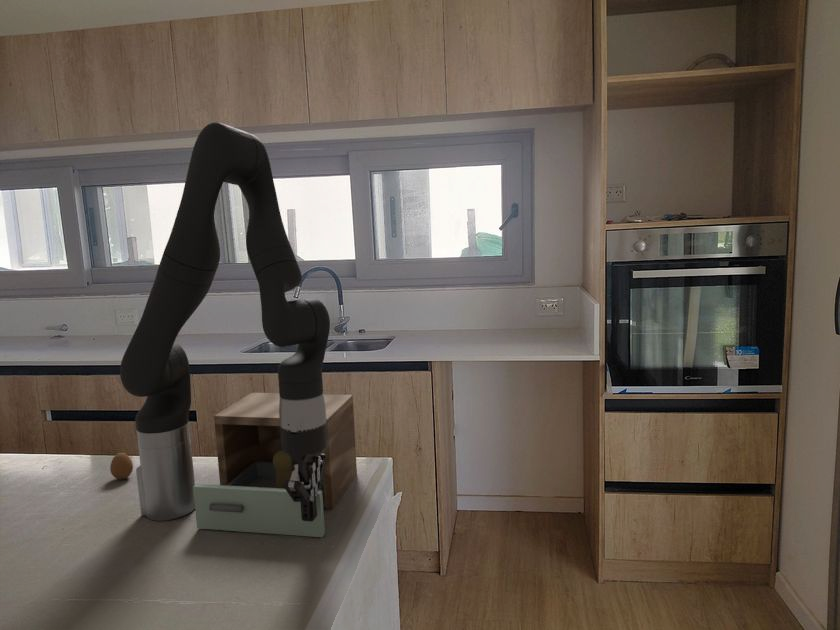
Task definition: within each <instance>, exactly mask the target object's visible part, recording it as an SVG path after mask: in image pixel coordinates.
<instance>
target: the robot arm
mask: <svg viewBox="0 0 840 630" xmlns="http://www.w3.org/2000/svg"><path fill="white" fill-rule="evenodd" d="M185 178H186V179H185V182H184V187H183V191H182V196H181V200H180V203H179V205H178V206H179V207H178V210H177V212H176V215H175V219H174V223H173V226H172V228H171V231H170V235H169V238H168V240H167V242H166V245H165V248H164V250H163V253H162V256H161V259H160V262H159V264H158V265H159V266H158V268H157V272H156V275H155V279H154V281H153V284H152V287H151V289H150V292H149V295H148V298H147V301H146V303H145V306H144V310H143V312H142V316H141V318H140V320H139V322H138V325H137V327H136V329H135V331H134V333H133V335H132V337H131V339H130V342H129V343H128V345H127V348H126V350H125V351H124V354H123V357H122V359H121V363H120V369H119V375H120V376H119V377H120V380H121V383H122V386H123V388H124V389H125V390H126V392H128V394H131V395H132V396H134V397H140V398H144V397H146V399H145V402H143V403H144V404H143V405H142V407H141V408H140V409H139V410H138V412H137V413H136V415H135V420H134V423H135V430H136V437H137V446H138V447H137V448H138V454H139V464H140V465H138V466H137V467H136V469H135V472H136V473H135V474H136V483H137V489H138V491H137V492H138V497H139V507H140V508H139V509H140V516H145V517H146V518H147V519H149V520H151V521H158V522H159V521H160V522H161V521H171V520H175V519H178V518H181V517H184V516H187V515H188V514H190V513H192V512H193V511H194V510H195V502H194V492H193V486H195V485H196V482H195V472H194V471H195V470H194V462H193V461H194V459H193V451H192V442H191V431H190V421H189V412H190V409H191V405H192V392H191V391H192V388H191V387H192V385H191V384H192V383H191V370H190V369H191V368H190V362H189V359H188V356H187V353H186V351H185V350H184V348H183V347H182V346H181V345H180V344H179V343H178V342H176V338H177V337H178V335H179V333H180V331H182V328H183V326H185V324H186V323H187V321H188V320H189V319H190V318H191V316H192V315H193V314H194V313H195V311H196V310H197V309H198V307H199V306H200V305H201V303H202V302H203V300H204V299H205V298H206V296H207V294H208V292H209V290H210V288H211V286H212V284H213V281H214V278H215V277H216V273H217V270H218V268H219V264H220V260H221V246H220V241H219V234H218V232H217V231H218V230H217V225H216V221H215V210H216V206H217V202H218V198H219V194H220V191H221V189H222V187H223V183H226V184H230V185H236V186H238V187H239V189H240V191H241V193H242V194H243V197H244V199H245V201H246V204H247V208H248V222H247V227H246V228H247V229H246V235H245V246H246V252H247V256H248V259H249V261H250V264H251V267H252V271H253V272H254V275H255V278H256V280H257V283H258V288H259V289H258V290H259V298H260V299H259V300H260V306H261V308H260V309H261V324H262V330H263V333H264V335H265V337H266V338H267V339H268V341H269V342H270V343H272V344H273V345H275V346H276V347H280V348H285V347H286V348H287V347H290V346H291V347H292V346H296V345H298V346H297V348H296V351H295V352H294V354H292V355H291V356H289V357H287V358H286V359H284V360H282V361H281V362H279V364H278V367H277V378H278V379H277V380H278V390H279V391H278V393H279V395H280V401H279V419H280V433H281V448H282V450H283V452H285V453H287V454H288V455H289V456H290V457H291V464H290V470H291V473H292V475H291V478H290V480H285V482H284V488H285V489H286V491H287V492H288V494H289V495H290V497H291V498H292V500H293V501H294V502H301V517H302V520H303V521H311V522H312V521H314V519H315V518H316V517H317V506H316V497H317V495H318V488H321V485H322V479H323V473H324V467H325V462H326V454H320V451H322V450H324V449H325V448H326V446H327V444H328V441H327V423H326V407H325V401H324V396H323V394H324V385H323V384H324V383H323V382H324V381H323V364H324V360H325V357H326V356H325V355H326V351H327V345H328V340H329V335H330V330H331V319H330V315H329V311H328V309H327V308H326V306H325V305H324V303H323V302H322V301H320V300H319V299H317V298H303V299H295V300H287V298H286V293H287V292H290V291H292V290H294V289H296V288H297V287H298V286H299V285H300V284H301V282H302V279H303V278H302V276H303V275H302V272H301V268H300V267H299V264H298V261H297V258H296V255H295V253H294V250H293V248H292V245H291V243H290V241H289V238H288V235H287V232H286V230H285V225H284V222H283V219H282V215H281V210H280V205H279V200H278V196H277V191H276V186H275V182H274V177H273V172H272V168H271V161H270V158H269V155H268V151H267V148H266V147H265V144H264V143H263V141H262V140H261V139H260V138H259V137H258V136H256V135H254V134H252V133H250V132H247V131H244V130H242V129H239V128H236V127H233V126H231V125H227V124H224V123H222V122H219V121H218V122H211V123H209V124H207V125H205V126H204V127H202V130H201V131H200V132H199V134H198V135H197V138H196V140H195V143H194V145H193V148H192V152H191V156H190V160H189V165H188V169H187V174H186V177H185Z"/></svg>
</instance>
